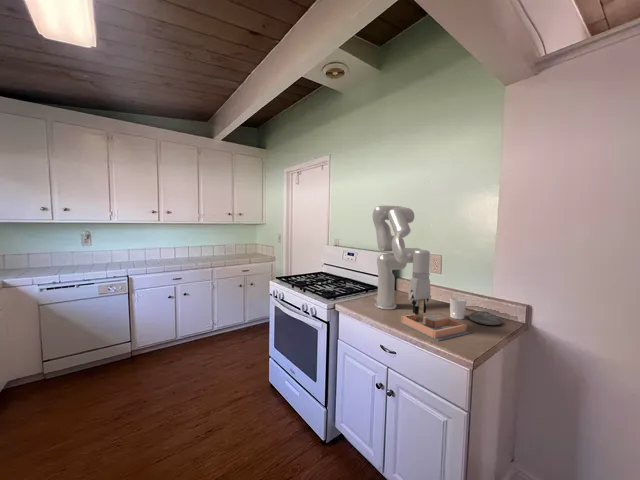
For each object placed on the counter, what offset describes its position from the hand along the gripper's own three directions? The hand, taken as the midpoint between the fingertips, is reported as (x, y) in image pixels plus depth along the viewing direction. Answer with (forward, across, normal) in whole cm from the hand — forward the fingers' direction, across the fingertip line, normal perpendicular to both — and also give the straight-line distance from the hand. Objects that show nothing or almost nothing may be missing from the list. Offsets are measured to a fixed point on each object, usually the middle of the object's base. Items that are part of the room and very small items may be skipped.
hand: (419, 312), depth 135 cm
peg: (+4, 0, 0) cm, 4 cm away
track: (+7, -5, +4) cm, 10 cm away
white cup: (+7, -29, -2) cm, 30 cm away
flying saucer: (+7, -37, +8) cm, 39 cm away
